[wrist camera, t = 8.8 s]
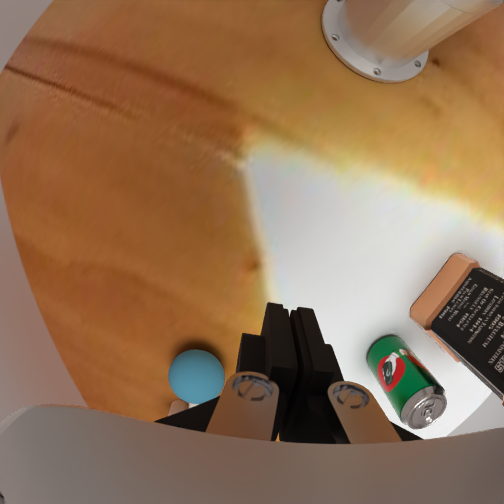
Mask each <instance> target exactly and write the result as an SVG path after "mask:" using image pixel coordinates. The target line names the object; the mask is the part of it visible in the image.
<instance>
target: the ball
mask: <svg viewBox="0 0 504 504" xmlns="http://www.w3.org/2000/svg"><path fill="white" fill-rule="evenodd" d="M168 376H169V383H170V386H171V388H172V390H173V392H174V393H175V394H176V395H177V396H178V397H179V398H180V399H182V400H184V401H185V402H188V403H192V404H201V403H204V402H206V401H209V400H211V399H213V398H216V397H217V396H218V395H219V393H220V392H221V390H222V388H223V386H224V381H225V374H224V370H223V367H222V365H221V363H220V362H219V360H218V359H217V358H216V357H215V356H214V355H212V354H211V353H209V352H206V351H203V350H198V349H194V350H188V351H185V352H183V353H181V354H180V355H178V356H177V357H176V358H175V359H174V360H173V362H172V364H171V366H170V369H169V374H168Z"/></svg>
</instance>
